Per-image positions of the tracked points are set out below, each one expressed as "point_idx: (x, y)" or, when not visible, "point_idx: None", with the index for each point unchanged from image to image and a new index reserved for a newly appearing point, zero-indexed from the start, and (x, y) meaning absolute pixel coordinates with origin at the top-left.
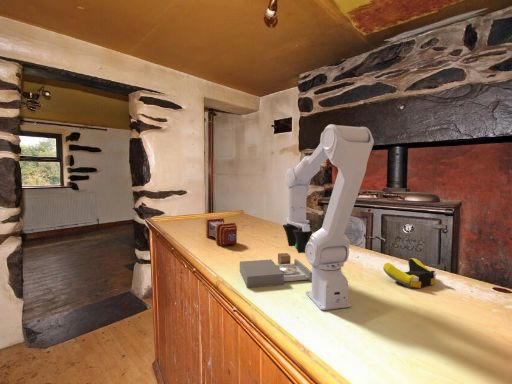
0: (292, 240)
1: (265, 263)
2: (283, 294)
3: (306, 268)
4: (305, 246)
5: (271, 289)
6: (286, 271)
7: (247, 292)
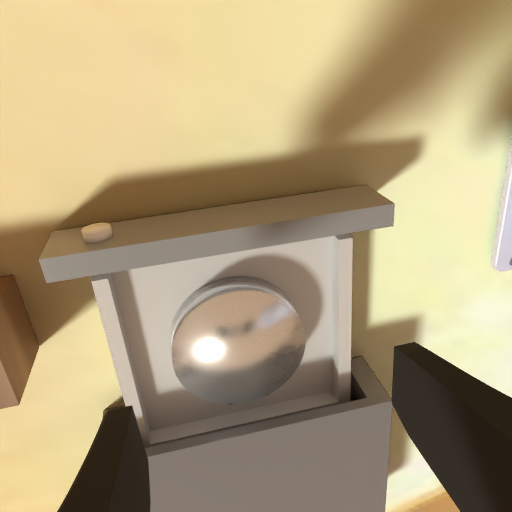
0: (136, 498)
1: (193, 495)
2: (459, 364)
3: (302, 228)
4: (472, 386)
5: None
6: (297, 363)
7: (397, 489)
